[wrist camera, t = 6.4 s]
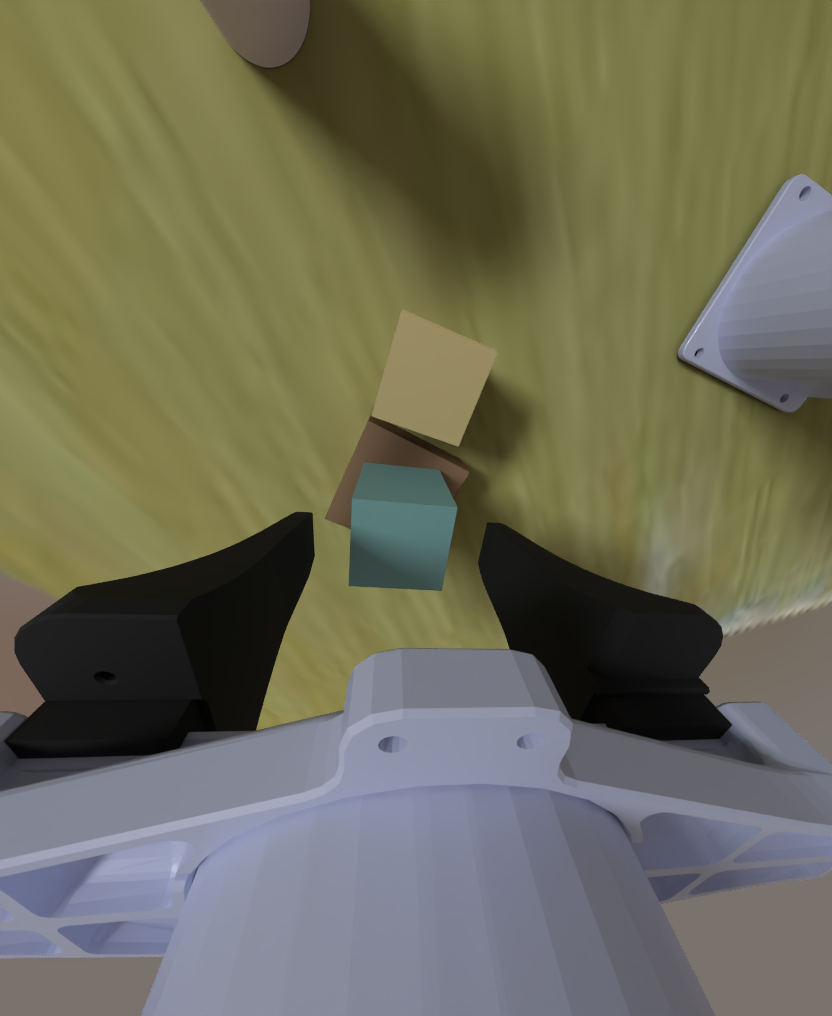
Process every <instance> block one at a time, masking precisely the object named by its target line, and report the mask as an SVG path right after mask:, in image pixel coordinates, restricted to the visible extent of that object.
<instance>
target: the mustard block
mask: <svg viewBox="0 0 832 1016" xmlns="http://www.w3.org/2000/svg"><path fill="white" fill-rule="evenodd" d="M497 353H498V351H496V350H494V349H492V348H489V347H487V346H485V345H483V344H480V343H478V342H476V341H473V340H471V339H469V338H467V337H464V336H462V335H460V334H457V333H455V332H453V331H451V330H448V329H446V328H444V327H442V326H439V325H437V324H435V323H432V322H430V321H428V320H426V319H423V318H421V317H419V316H416V315H414V314H412V313H410V312H407V311H405V310H403V309H402V311H401V314H400V318H399V321H398V325H397V328H396V332H395V335H394V339H393V342H392V346H391V349H390V353H389V356H388V360H387V363H386V367H385V370H384V374H383V377H382V381H381V384H380V388H379V391H378V395H377V398H376V402H375V405H374V409H373V412H372V417H375V418H378V419H381V420H384V421H386V422H389V423H392V424H395V425H398V426H401V427H404V428H406V429H409V430H412V431H415V432H418V433H421V434H424V435H426V436H429V437H432V438H435V439H438V440H441V441H444V442H446V443H449V444H452V445H455V446H458V447H459V444H460V442H461V439H462V437H463V435H464V432H465V430H466V427H467V425H468V423H469V420H470V418H471V415H472V413H473V411H474V408H475V406H476V403H477V401H478V399H479V396H480V394H481V391H482V389H483V387H484V384H485V382H486V379H487V377H488V375H489V372H490V370H491V367H492V365H493V363H494V360H495V358H496V355H497Z"/></svg>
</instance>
